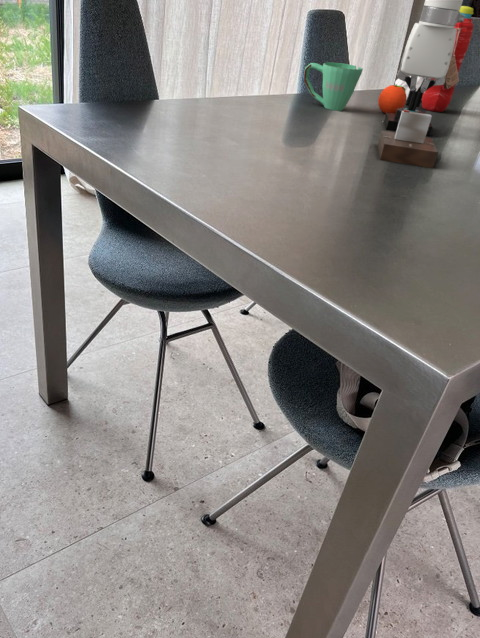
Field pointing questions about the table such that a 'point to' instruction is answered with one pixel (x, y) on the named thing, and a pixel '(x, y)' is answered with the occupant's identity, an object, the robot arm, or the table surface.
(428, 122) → the silver flat panel
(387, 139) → the block
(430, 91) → the red bag
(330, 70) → the mug
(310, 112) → the table surface
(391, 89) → the clementine
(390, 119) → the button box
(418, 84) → the bust
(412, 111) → the button
